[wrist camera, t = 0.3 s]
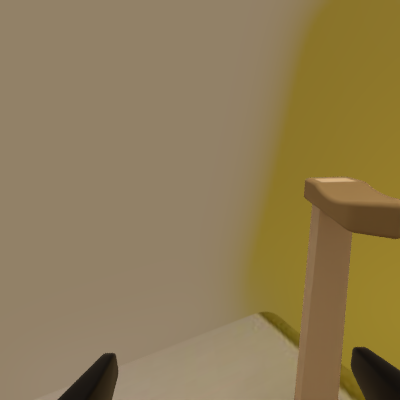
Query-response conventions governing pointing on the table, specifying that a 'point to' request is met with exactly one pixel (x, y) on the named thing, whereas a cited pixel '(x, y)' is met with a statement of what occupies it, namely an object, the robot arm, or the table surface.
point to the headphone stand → (334, 274)
